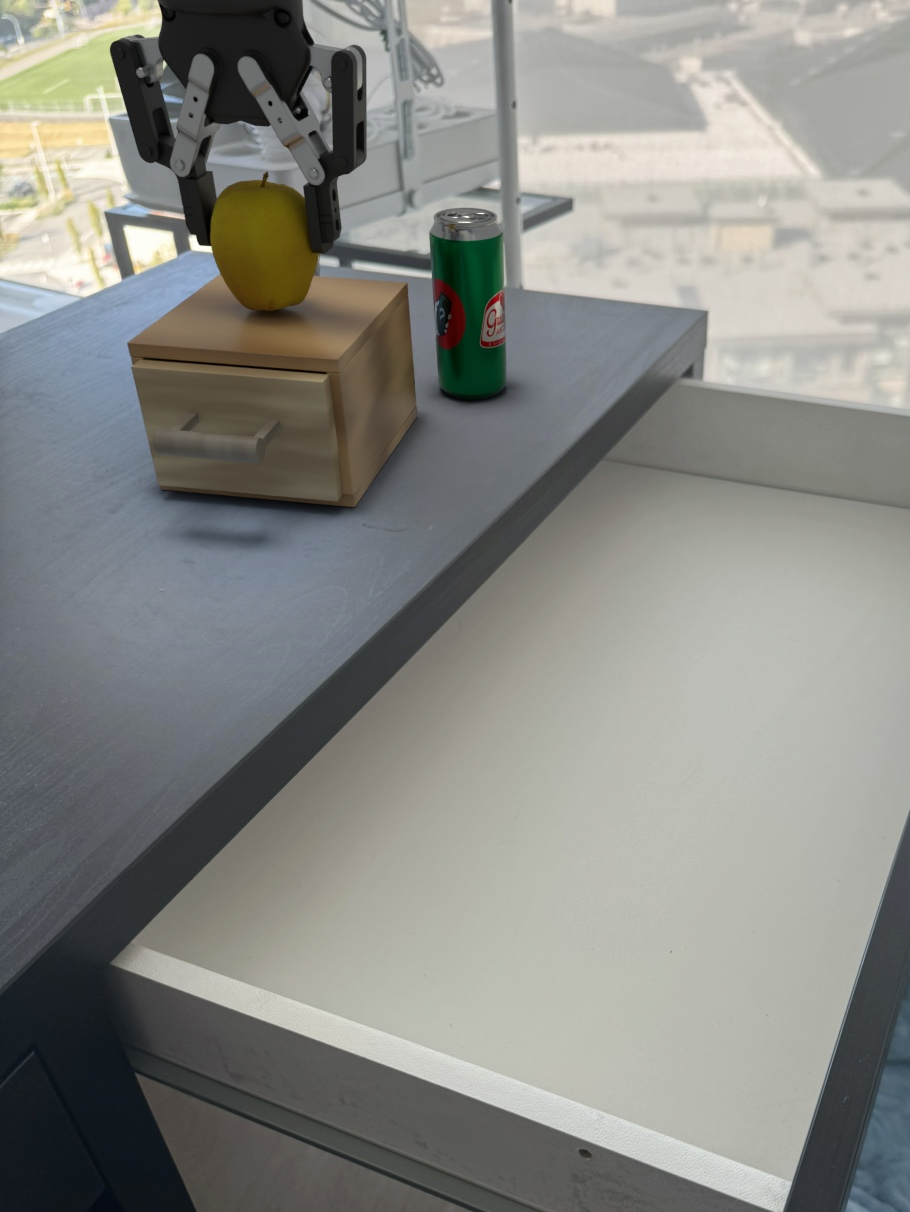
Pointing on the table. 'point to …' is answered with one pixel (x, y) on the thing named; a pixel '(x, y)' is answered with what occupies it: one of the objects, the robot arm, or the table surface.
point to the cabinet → (310, 360)
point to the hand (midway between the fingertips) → (266, 245)
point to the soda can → (469, 302)
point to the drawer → (240, 428)
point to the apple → (263, 244)
